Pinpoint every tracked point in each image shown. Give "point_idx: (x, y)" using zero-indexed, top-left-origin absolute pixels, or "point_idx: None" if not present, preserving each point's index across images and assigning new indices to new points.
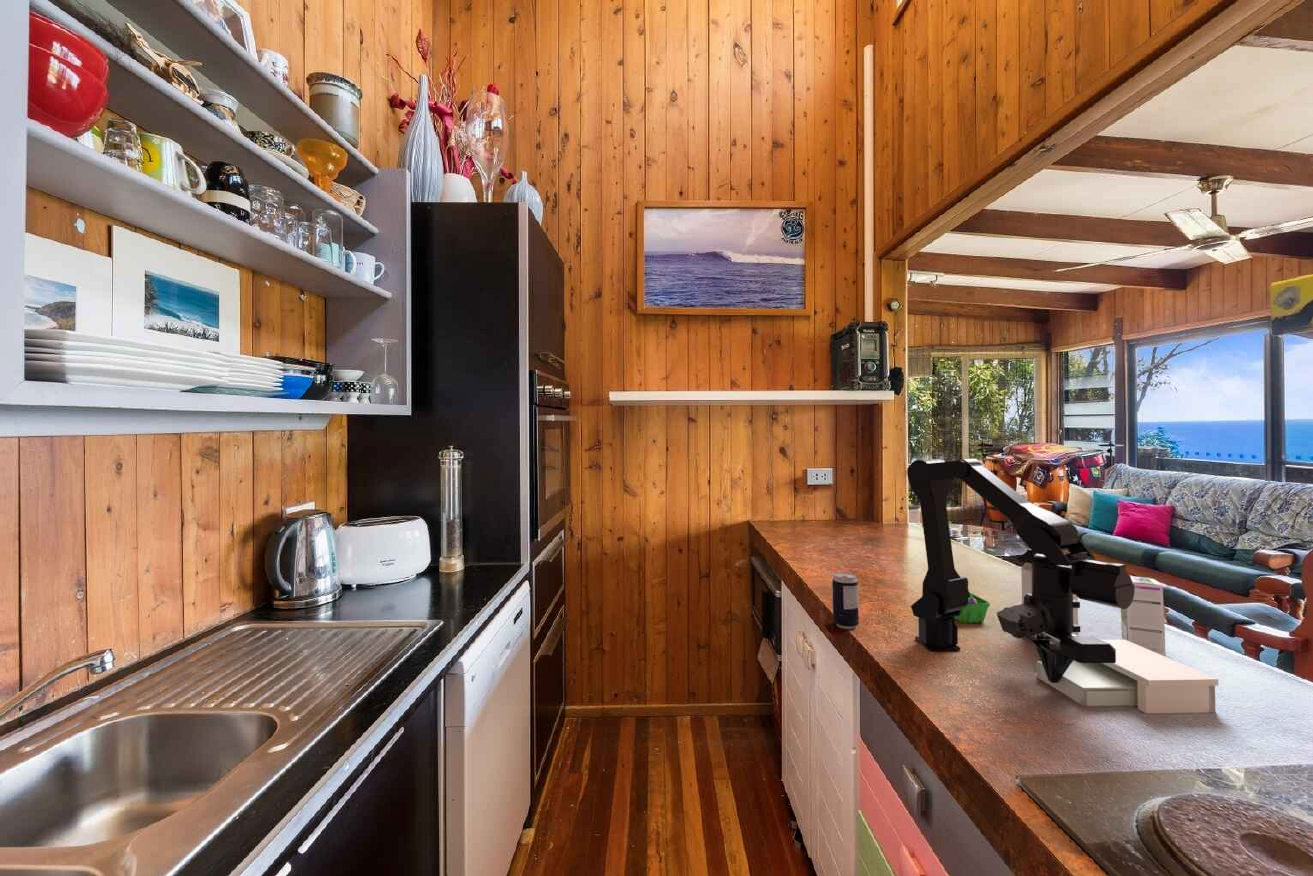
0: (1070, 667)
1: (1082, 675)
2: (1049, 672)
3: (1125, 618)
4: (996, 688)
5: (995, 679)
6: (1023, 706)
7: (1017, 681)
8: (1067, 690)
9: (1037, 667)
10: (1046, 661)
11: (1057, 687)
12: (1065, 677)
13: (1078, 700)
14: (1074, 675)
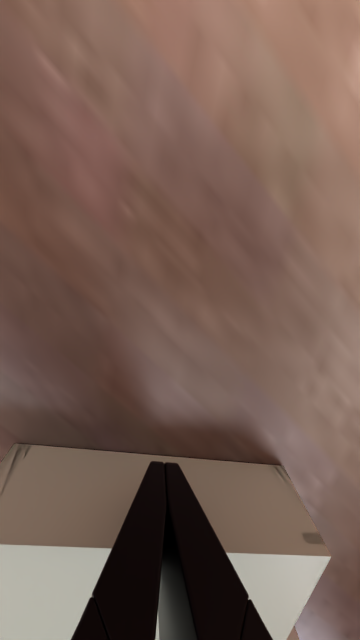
0: None
1: None
2: (154, 514)
3: None
4: (267, 160)
5: (350, 261)
6: (23, 120)
7: (288, 357)
8: (101, 475)
9: (308, 515)
10: (188, 620)
11: None
12: (99, 549)
13: (38, 456)
14: None
